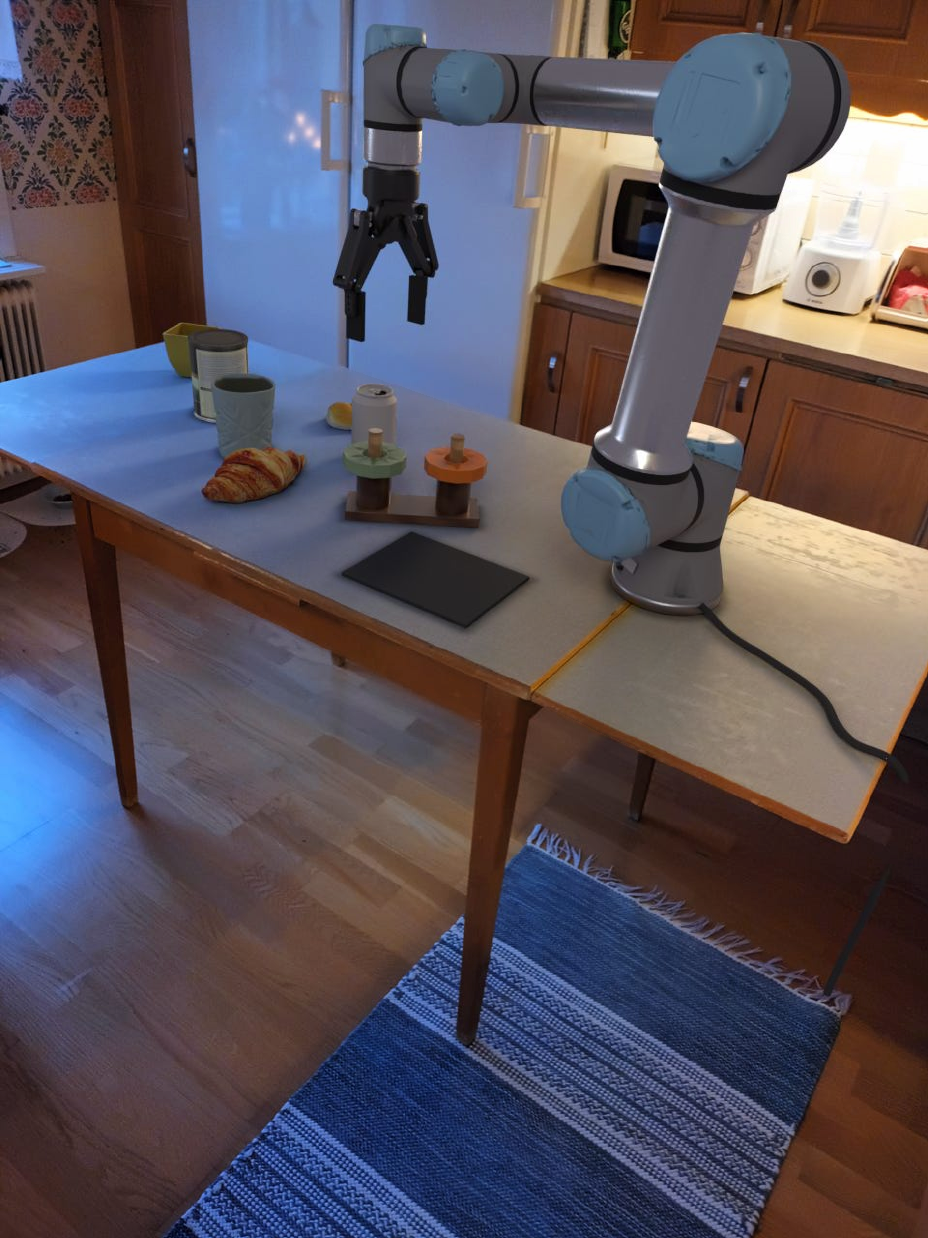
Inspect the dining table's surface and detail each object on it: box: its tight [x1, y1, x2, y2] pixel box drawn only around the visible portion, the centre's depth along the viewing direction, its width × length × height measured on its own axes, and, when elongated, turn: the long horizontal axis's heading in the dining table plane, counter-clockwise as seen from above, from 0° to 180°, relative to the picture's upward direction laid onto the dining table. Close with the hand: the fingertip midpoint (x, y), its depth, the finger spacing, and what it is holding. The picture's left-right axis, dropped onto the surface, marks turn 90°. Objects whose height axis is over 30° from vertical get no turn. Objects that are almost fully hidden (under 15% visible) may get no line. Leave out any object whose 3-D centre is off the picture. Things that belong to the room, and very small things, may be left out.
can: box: [350, 383, 398, 446], centre depth 155 cm, size 8×8×12 cm
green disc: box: [342, 442, 407, 478], centre depth 136 cm, size 9×9×2 cm
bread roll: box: [325, 401, 352, 431], centre depth 170 cm, size 8×9×4 cm
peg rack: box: [344, 428, 480, 529], centre depth 137 cm, size 20×7×13 cm, turn 92°
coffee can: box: [188, 328, 250, 424], centre depth 166 cm, size 10×10×14 cm
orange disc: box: [423, 446, 488, 484], centre depth 137 cm, size 9×9×2 cm
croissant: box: [201, 446, 307, 504], centre depth 143 cm, size 21×10×8 cm, turn 146°
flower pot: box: [162, 322, 222, 379], centre depth 184 cm, size 9×9×9 cm
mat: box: [341, 531, 530, 629], centre depth 125 cm, size 20×16×1 cm
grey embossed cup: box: [211, 373, 276, 459], centre depth 152 cm, size 10×10×12 cm
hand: (386, 331), depth 131 cm, fingers open, 13 cm apart
